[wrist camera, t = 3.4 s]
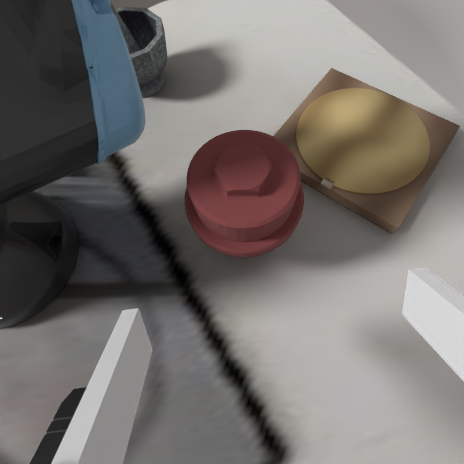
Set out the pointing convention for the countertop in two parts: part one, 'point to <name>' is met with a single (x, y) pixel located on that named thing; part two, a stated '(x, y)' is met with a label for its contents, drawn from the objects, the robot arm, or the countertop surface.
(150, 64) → the mortar and pestle
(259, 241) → the mechanical component
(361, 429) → the countertop surface
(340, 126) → the marked board
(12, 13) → the robot arm
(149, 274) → the countertop surface
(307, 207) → the countertop surface
